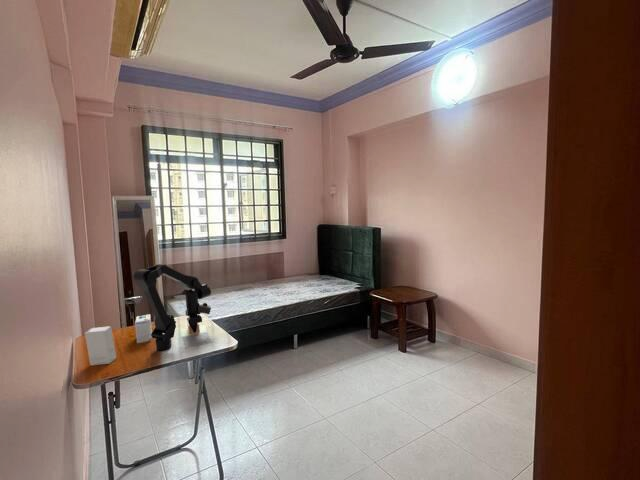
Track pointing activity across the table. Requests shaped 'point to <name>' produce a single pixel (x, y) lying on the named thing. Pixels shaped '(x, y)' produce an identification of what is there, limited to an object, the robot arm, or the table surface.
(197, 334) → the board
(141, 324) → the light bulb box
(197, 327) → the cream block
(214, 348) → the table surface
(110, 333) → the skincare box
